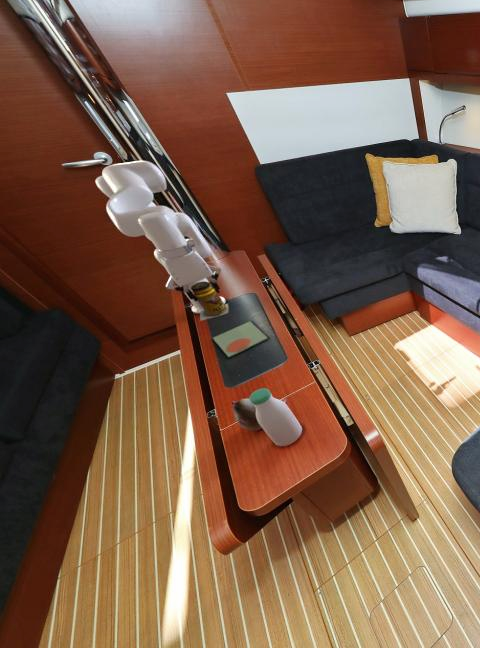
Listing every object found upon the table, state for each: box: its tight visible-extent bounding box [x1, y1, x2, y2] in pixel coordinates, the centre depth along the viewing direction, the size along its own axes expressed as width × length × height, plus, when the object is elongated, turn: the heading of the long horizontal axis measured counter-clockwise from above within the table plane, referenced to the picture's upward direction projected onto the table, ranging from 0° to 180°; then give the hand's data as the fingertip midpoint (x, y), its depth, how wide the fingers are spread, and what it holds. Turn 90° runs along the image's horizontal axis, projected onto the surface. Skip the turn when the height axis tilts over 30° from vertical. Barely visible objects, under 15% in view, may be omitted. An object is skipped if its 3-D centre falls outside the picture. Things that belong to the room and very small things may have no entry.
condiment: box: [191, 281, 229, 322], centre depth 118 cm, size 7×8×12 cm
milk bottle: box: [249, 387, 303, 447], centre depth 94 cm, size 8×8×20 cm
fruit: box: [230, 398, 263, 432], centre depth 100 cm, size 10×9×12 cm
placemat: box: [212, 320, 269, 359], centre depth 135 cm, size 18×14×1 cm
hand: (206, 295), depth 118 cm, fingers closed on condiment, 6 cm apart
